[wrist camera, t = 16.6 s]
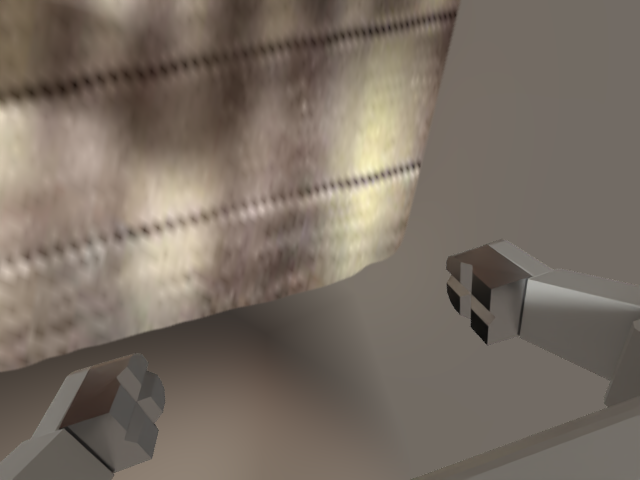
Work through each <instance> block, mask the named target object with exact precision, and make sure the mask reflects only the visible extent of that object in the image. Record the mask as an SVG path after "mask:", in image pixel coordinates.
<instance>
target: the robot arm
mask: <svg viewBox="0 0 640 480" xmlns="http://www.w3.org/2000/svg"><path fill="white" fill-rule="evenodd" d="M446 270H448V272H449V273H451V276H450V278H449V280H448V281H447V293H448V296H449V299H450V302H451V304H452V305H453V307H454V309H455V310H456V311H457V312H458V313H459V315H461V316H464V317H466V318H469V319H471V328H472V329H473V330H474V331H475V333H476V334H477V335H478V336H479V337H480V338H481V339H482V340H483V341H484V342H485V344H486V345H491V344H494V343H497V342H501V341H504V340H507V339H511V338H514V337H517V336H520V338H521V339H523V340H526V341H528V342H530V343H532V344H534V345H536V346H538V347H540V348H542V349H544V350H547V351H549V352H551V353H553V354H555V355H557V356H559V357H561V358H563V359H565V360H567V361H570V362H572V363H574V364H576V365H578V366H580V367H582V368H584V369H587V370H589V371H591V372H593V373H595V374H597V375H599V376H601V377H603V378H606V379H607V380H609V381H610V383H609V386H608V388H607V391H606V394H605V397H604V404H605V405H606V406H607V408H605V409H602V410H599V411H596V412H594V413H591V414H588V415H586V416H583V417H580V418H577V419H575V420H572V421H569V422H566V423H564V424H561V425H558V426H555V427H553V428H550V429H547V430H545V431H542V432H539V433H537V434H534V435H531V436H528V437H526V438H523V439H520V440H517V441H514V442H512V443H509V444H507V445H504V446H501V447H498V448H496V449H493V450H490V451H487V452H484V453H482V454H479V455H476V456H473V457H471V458H468V459H465V460H463V461H460V462H457V463H455V464H452V465H449V466H446V467H443V468H441V469H438V470H435V471H433V472H430V473H427V474H424V475H422V476H419V477H416V478H413V479H411V480H640V286H639V285H635V284H630V283H626V282H621V281H616V280H612V279H607V278H602V277H598V276H593V275H588V274H584V273H579V272H575V271H570V270H565V269H560V268H559V269H556V270H553V269H551V268H550V267H548V266H546V265H545V264H543V263H541V262H540V261H539V260H537V259H536V258H534V257H532V256H531V255H529V254H528V253H526V252H525V251H523V250H521V249H520V248H518V247H517V246H515V245H514V244H512V243H511V242H509V241H507V240H503V239H500V240H496V241H493V242H491V243H487V244H485V245H483V246H480V247H477V248H474V249H471V250H467V251H464V252H461V253H458V254H454V255H451V256H449V257H448V258H447V261H446ZM147 366H148V362H147V360H146V359H145V358H144V357H143V355H142V354H136V353H135V354H131V355H128V356H125V357H121V358H118V359H114V360H111V361H107V362H104V363H100V364H97V365H94V366H91V367H88V368H84V369H80V370H77V371H74V372H73V373H71V374H70V375H68V376H67V377H66V379H65V381H64V383H63V384H62V386H61V388H60V389H59V391H58V393H57V395H56V396H55V398H54V400H53V401H52V403H51V405H50V407H49V408H48V410H47V412H46V414H45V415H44V417H43V419H42V420H41V422H40V424H39V425H38V427H37V429H36V431H35V432H34V434H33V436H32V438H31V439H29V440H27V441H24V442H22V443H21V444H20V445H19V446H18V447H17V448H16V449H14V450H13V451H12V452H11V453H10V454H9V455H8V456H7V457H6V458H5V459H4V460H3V461H1V462H0V480H111V479H112V478H113V476H114V474H113V473H115V472H118V471H120V470H123V469H126V468H129V467H131V466H134V465H136V464H139V463H142V462H145V461H148V460H150V459H152V456H153V452H154V447H155V444H156V439H157V435H158V431H159V430H158V428H157V427H156V425H155V424H154V423H155V422H156V421H157V419H158V418H159V417H160V415H161V414H162V413H163V409H164V404H165V392H164V391H165V390H164V387H163V384H162V381H161V380H160V378H159V377H158V375H157V374H155V373H152V372H149V371H147Z"/></svg>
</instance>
